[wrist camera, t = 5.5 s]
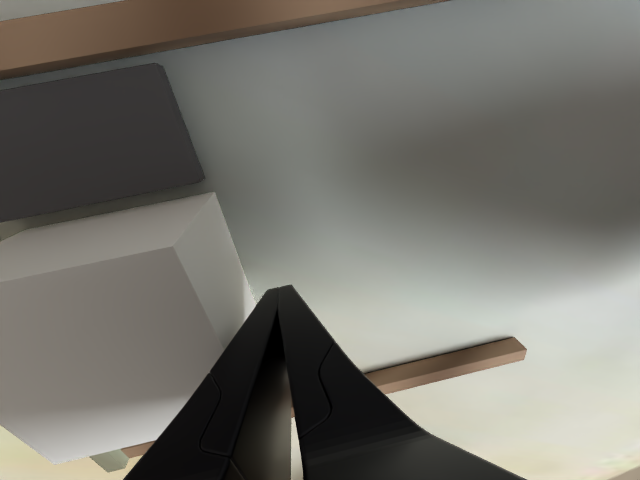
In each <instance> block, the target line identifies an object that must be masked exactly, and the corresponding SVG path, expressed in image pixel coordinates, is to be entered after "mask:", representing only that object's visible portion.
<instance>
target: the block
mask: <svg viewBox="0 0 640 480" xmlns="http://www.w3.org/2000/svg"><path fill="white" fill-rule="evenodd" d="M255 306H256V303H255V301H254V298H253V295H252V292H251V290H250V287H249V284H248V281H247V279H246V276H245V273H244V270H243V268H242V265H241V262H240V260H239V257H238V254H237V251H236V249H235V246H234V243H233V240H232V238H231V235H230V232H229V229H228V227H227V224H226V221H225V218H224V216H223V213H222V210H221V207H220V205H219V202H218V199H217V197H216V194H215V192H210V193H205V194H200V195H196V196H191V197H186V198H181V199H176V200H171V201H166V202H161V203H156V204H151V205H146V206H141V207H136V208H131V209H126V210H121V211H116V212H111V213H106V214H101V215H96V216H91V217H86V218H81V219H76V220H71V221H66V222H61V223H56V224H51V225H46V226H41V227H36V228H31V229H26V230H23V231H21V232H19V233H17V234H15V235H13V236H11V237H9V238H7V239H5V240H2V241H0V425H1V426H3V427H4V428H5V429H7V430H8V431H9V432H11V433H12V434H13V435H15V436H16V437H17V438H19V439H20V440H22V441H23V442H24V443H26V444H27V445H28V446H30V447H31V448H32V449H34V450H35V451H36V452H38V453H39V454H40V455H42V456H43V457H45V458H46V459H47V460H49V461H50V462H51V463H53V464H54V465H56V464H60V463H64V462H68V461H72V460H76V459H80V458H84V457H89V456H93V455H97V454H101V453H105V452H109V451H113V450H117V449H121V448H125V447H130V446H134V445H138V444H142V443H146V442H150V441H154V440H156V439H157V438H158V437H159V436H160V435H161V433H162V432H163V431H164V430H165V429H166V427H167V426H168V425H169V424H170V423H171V421H172V420H173V419H174V418H175V416H176V415H177V414H178V413H179V411H180V410H181V409H182V408H183V406H184V405H185V404H186V403H187V401H188V400H189V399H190V397H191V396H192V394H193V393H194V392H195V390H196V389H197V388H198V386H199V385H200V384H201V382H202V381H203V379H204V378H205V377H206V375H207V374H208V373H210V370H211V368H212V367H213V366H214V364H215V363H216V361H217V360H218V359H219V357H220V356H221V354H222V353H223V351H224V350H225V349H226V347H227V346H228V344H229V343H230V342H231V340H232V339H233V337H234V336H235V335H236V333H237V332H238V330H239V329H240V328H241V326H242V325H243V323H244V322H245V321H246V319H247V318H248V316H249V315H250V313H251V312H252V311H253V309H254V308H255Z"/></svg>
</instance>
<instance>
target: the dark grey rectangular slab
mask: <svg viewBox="0 0 640 480" xmlns="http://www.w3.org/2000/svg"><path fill="white" fill-rule="evenodd" d="M203 179H205V176H204V174H203V171H202V168H201V166H200V163H199V161H198V158H197V155H196V153H195V150H194V147H193V145H192V142H191V139H190V137H189V134H188V131H187V129H186V126H185V123H184V121H183V118H182V115H181V113H180V110H179V108H178V105H177V102H176V100H175V97H174V94H173V92H172V89H171V86H170V84H169V81H168V78H167V76H166V73H165V70H164V68H163V66H162V65H159V64H156V63H152V64H146V65H141V66H135V67H129V68H124V69H118V70H113V71H107V72H101V73H96V74H90V75H85V76H79V77H74V78H68V79H62V80H57V81H51V82H46V83H40V84H34V85H29V86H23V87H18V88H12V89H6V90H1V91H0V222H5V221H10V220H15V219H20V218H25V217H30V216H35V215H40V214H45V213H50V212H55V211H59V210H64V209H69V208H74V207H79V206H84V205H89V204H94V203H99V202H104V201H109V200H114V199H119V198H124V197H129V196H134V195H139V194H144V193H148V192H153V191H158V190H163V189H168V188H173V187H178V186H183V185H188V184H193V183H198V182H201V181H202V180H203Z"/></svg>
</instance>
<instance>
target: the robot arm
mask: <svg viewBox="0 0 640 480" xmlns="http://www.w3.org/2000/svg"><path fill="white" fill-rule="evenodd" d="M291 397H292V403H293V409H294V415H295V421H296V427H297V433H298V439H299V445H300V452H301V459H302V467H303V480H527V479H524V478H522V477H520V476H518V475H516V474H514V473H512V472H509V471H507V470H505V469H503V468H501V467H499V466H497V465H495V464H493V463H491V462H488V461H486V460H484V459H482V458H480V457H478V456H476V455H474V454H472V453H469V452H467V451H465V450H463V449H461V448H459V447H457V446H455V445H453V444H451V443H448V442H446V441H444V440H442V439H440V438H438V437H436V436H434V435H432V434H430V433H429V432H427V431H426V430H424V429H423V428H421V427H420V426H419V425H417V424H416V423H415V422H414V421H413V420H411V419H410V418H409V417H408V416H407V415H406V414H405V413H404V412H403V411H402V410H401V409H400V408H398V407H397V406H396V405H395V404H394V403H393V402H392V401H391V400H390V399H389V398H388V397H387V396H386V395H385V394H384V393H383V392H382V391H381V390H380V389H379V388H378V387H377V386H375V385H374V384H373V383H372V382H371V381H370V380H369V379H368V378H367V377H366V376H365V375H364V374H363V373H362V372H361V371H360V370H359V369H358V368H357V367H356V366H355V365H354V363H353V362H352V361H351V360H350V359H349V358H348V356H347V355H346V354H345V353H344V352H343V350H342V349H341V348H340V346H339V345H338V344H337V343H336V342H335V340H334V339H333V338H332V336H331V335H330V334H329V332H328V331H327V330H326V329H325V327H324V326H323V325H322V323H321V322H320V321H319V320H318V318H317V317H316V316H315V314H314V313H313V312H312V310H311V309H310V308H309V307H308V305H307V304H306V303H305V301H304V300H303V299H302V298H301V296H300V295H299V294H298V292H297V291H296V290H295V288H294V287H293V286H292V285H286V286H282V287H280V288H279V287H277V288H273V289H269V290H267V291H266V292H265V294H264V295H263V297H262V298H261V299H260V301H259V302H258V304H257V305H256V306H255V308H254V309H253V311H252V312H251V313H250V315H249V316H248V318H247V319H246V321H245V322H244V323H243V325H242V326H241V328H240V329H239V330H238V332H237V333H236V335H235V336H234V337H233V339H232V340H231V342H230V343H229V344H228V346H227V347H226V349H225V350H224V351H223V353H222V354H221V356H220V357H219V359H218V360H217V361H216V363H215V364H214V366H213V367H212V368H211V370H210V373H208V374H207V375H206V377H205V378H204V379H203V381H202V382H201V384H200V385H199V386H198V388H197V389H196V390H195V392H194V393H193V394H192V396H191V397H190V399H189V400H188V401H187V403H186V404H185V405H184V406H183V408H182V409H181V410H180V411H179V413H178V414H177V415H176V416H175V418H174V419H173V420H172V421H171V423H170V424H169V425H168V426H167V427H166V429H165V430H164V431H163V432H162V433H161V435H160V436H159V437H158V438H157V439H156V441H155V442H154V443H153V444H152V445H151V447H150V448H149V449H148V450H147V451H146V453H145V454H144V455H143V456H142V457H141V459H140V460H139V461H138V462H137V463H136V465H135V466H134V467H133V468H132V469H131V471H130V472H129V473H128V474H127V475H126V477H125V478H124V479H123V480H291Z"/></svg>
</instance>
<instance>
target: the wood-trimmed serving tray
mask: <svg viewBox="0 0 640 480" xmlns="http://www.w3.org/2000/svg"><path fill="white" fill-rule="evenodd" d="M444 1H449V0H125V1H119V2H113V3H107V4H101V5H95V6H89V7H83V8H77V9H71V10H65V11H59V12H54V13H48V14H42V15H36V16H30V17H24V18H18V19H12V20H6V21H0V80H4V79H9V78H15V77H21V76H26V75H32V74H37V73H43V72H49V71H54V70H60V69H66V68H71V67H77V66H83V65H88V64H94V63H100V62H105V61H111V60H116V59H122V58H128V57H133V56H139V55H145V54H150V53H156V52H162V51H167V50H173V49H179V48H184V47H190V46H196V45H201V44H207V43H212V42H218V41H224V40H229V39H235V38H241V37H246V36H252V35H258V34H263V33H269V32H275V31H280V30H286V29H291V28H297V27H303V26H308V25H314V24H320V23H325V22H331V21H337V20H342V19H348V18H354V17H359V16H365V15H370V14H376V13H382V12H387V11H393V10H399V9H404V8H410V7H416V6H421V5H427V4H433V3H438V2H444ZM526 351H527V349H526V348H525V347H524V346H523V345H522V344H521V343H520V342H519V341H518V340H517V339H516V338H515V337H514V338H510V339H506V340H501V341H497V342H493V343H489V344H485V345H481V346H477V347H473V348H469V349H465V350H461V351H457V352H452V353H448V354H444V355H440V356H436V357H432V358H428V359H424V360H420V361H416V362H412V363H408V364H403V365H399V366H395V367H391V368H387V369H383V370H379V371H375V372H371V373H367V374H364V375H365V376H366V377H367V378H368V379H369V380H370V381H371V382H372V383H373V384H374V385H375V386H377V387H378V388H379V389H380V390H381V391H382V392H383V393H384V394H389V393H393V392H397V391H401V390H405V389H409V388H413V387H417V386H421V385H425V384H429V383H433V382H437V381H441V380H445V379H449V378H453V377H457V376H461V375H465V374H469V373H473V372H477V371H481V370H485V369H489V368H493V367H497V366H501V365H505V364H509V363H513V362H517V361H521V360H524V358H525V355H526ZM293 417H295V415H294V409H293V403H292V397H291V418H293ZM155 441H156V440H154V441H150V442H146V443H142V444H138V445H134V446H130V447H125V448H121V449H117V450H113V451H109V452H105V453H101V454H97V455H93V456H89V457H90V458H91V459H92V460H94V461H95V462H96V463H97V464H98V465H99V466H101V467H102V468H103V469H104V470H105V471H107V472H112V471H116V470H120V469H124V468H125V467H126V465H127V462H128V460H129V458H132V457H136V456H140V455H144V454H145V453H146V451H147V450H148V449H149V448H150V447H151V445H152V444H153V443H154V442H155Z"/></svg>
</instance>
